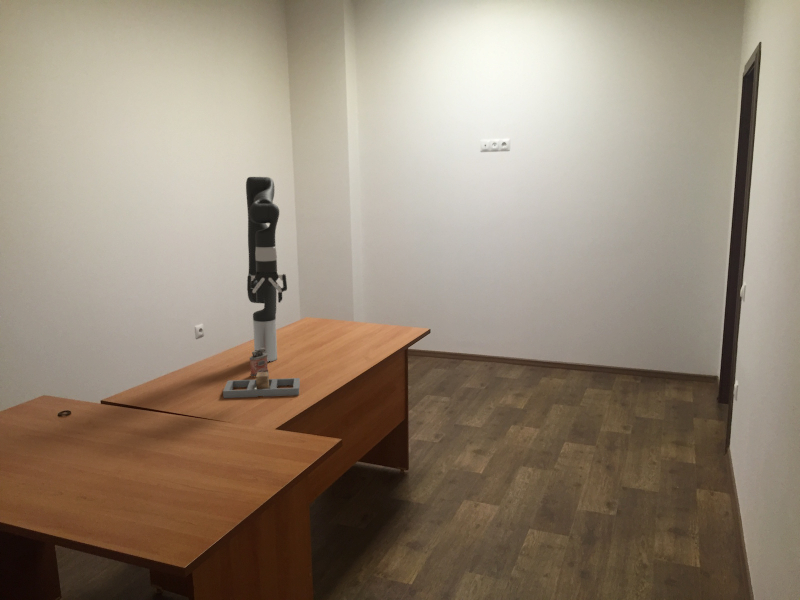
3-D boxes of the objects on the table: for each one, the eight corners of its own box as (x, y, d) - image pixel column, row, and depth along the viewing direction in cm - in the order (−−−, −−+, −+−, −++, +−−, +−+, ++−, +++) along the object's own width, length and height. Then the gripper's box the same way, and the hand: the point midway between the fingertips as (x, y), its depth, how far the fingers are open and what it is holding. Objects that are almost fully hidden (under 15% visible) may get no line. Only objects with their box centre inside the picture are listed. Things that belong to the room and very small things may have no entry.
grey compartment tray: (228, 387, 235) (227, 380, 234) (299, 384, 238) (299, 377, 237) (223, 398, 223) (223, 391, 223) (298, 395, 226) (298, 388, 226)
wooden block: (256, 392, 228) (256, 376, 227) (258, 388, 233) (257, 372, 231) (268, 392, 228) (267, 376, 227) (269, 387, 233) (268, 371, 232)
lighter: (254, 377, 245) (253, 352, 243) (248, 375, 247) (247, 350, 245) (270, 372, 252) (269, 347, 250) (264, 370, 254) (263, 346, 252)
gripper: (245, 260, 229) (247, 304, 232) (285, 260, 230) (286, 304, 234) (247, 257, 236) (249, 300, 239) (286, 257, 238) (287, 300, 241)
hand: (267, 302), depth 236 cm, fingers open, 8 cm apart
